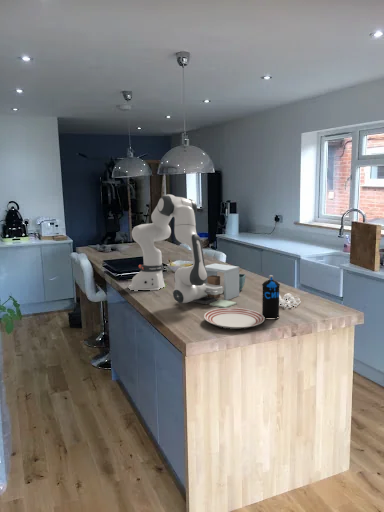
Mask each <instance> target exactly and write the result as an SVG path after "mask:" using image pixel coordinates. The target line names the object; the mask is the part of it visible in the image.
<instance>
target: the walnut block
mask: <svg viewBox="0 0 384 512" xmlns="http://www.w3.org/2000/svg"><path fill="white" fill-rule="evenodd" d="M207 283H208V284H213V285H218V284H219V285H220V286H221V276H220V275H217V276H215V275H212V276H208V277H207ZM206 296H207V297H212V298H216V300H217V299H218V300H219V299H221V294H217V295H211V294H207V295H206Z"/></svg>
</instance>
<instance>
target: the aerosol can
mask: <svg viewBox="0 0 384 512" xmlns="http://www.w3.org/2000/svg"><path fill="white" fill-rule="evenodd" d="M261 285H262V300H261V301H262V304H261V305H262V308H261V311H262V313H261V314H262V315H263V316H264V317H265V318H277V317H279V318H280V306H279V294H280V286H281V284H280V283H279V282H278V281H276V280H274V275H272V274H270V275H268V280H265V281H264V282H262V283H261Z"/></svg>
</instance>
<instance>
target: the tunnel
mask: <svg viewBox="0 0 384 512" xmlns="http://www.w3.org/2000/svg"><path fill="white" fill-rule="evenodd" d="M205 268H206V271H207V277H208V276H212V275H215V276H218V273H223V300H227V301H230V300H231V299H234V298H237V297H240V291H239V274H240V266H238V265H237V266H235V265H228V264H223V263H222V264H221V263H217V262H216V263H211V264H207V265H205ZM205 283H207V279H206V281H205ZM205 296H207V294H206V295H205Z"/></svg>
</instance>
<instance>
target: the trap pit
mask: <svg viewBox="0 0 384 512" xmlns="http://www.w3.org/2000/svg"><path fill="white" fill-rule="evenodd" d="M215 301H217V299H216V298H212V297H207V295H205V296H204V297H203V298H200V299H196V300H193V301H192V302H194V303H197V304H198V303H199V304H202V305H207V304H210V303H212V302H215Z"/></svg>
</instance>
